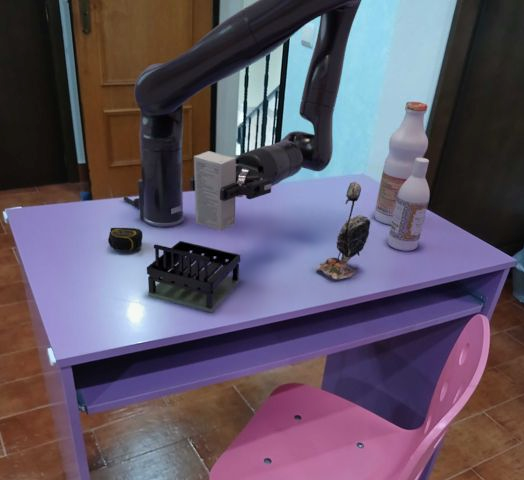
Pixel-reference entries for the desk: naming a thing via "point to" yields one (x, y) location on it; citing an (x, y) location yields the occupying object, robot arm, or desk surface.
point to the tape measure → (125, 239)
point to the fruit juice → (401, 159)
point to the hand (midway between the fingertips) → (206, 189)
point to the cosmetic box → (214, 190)
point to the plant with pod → (348, 240)
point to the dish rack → (192, 275)
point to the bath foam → (410, 209)
